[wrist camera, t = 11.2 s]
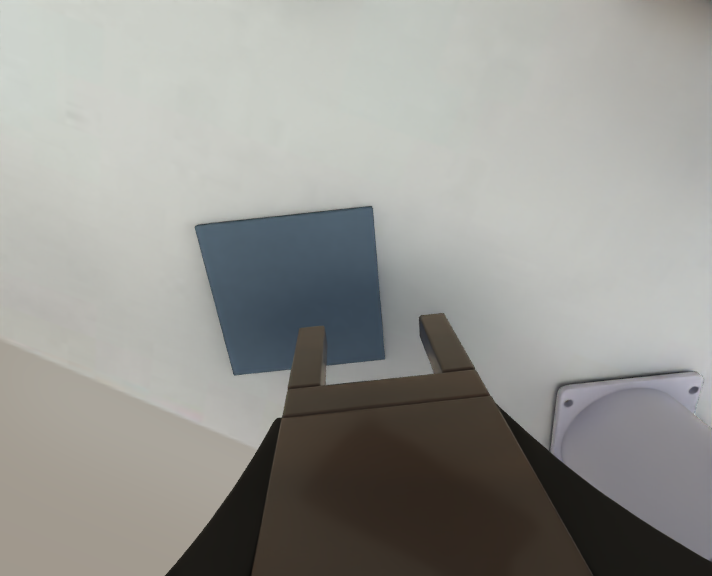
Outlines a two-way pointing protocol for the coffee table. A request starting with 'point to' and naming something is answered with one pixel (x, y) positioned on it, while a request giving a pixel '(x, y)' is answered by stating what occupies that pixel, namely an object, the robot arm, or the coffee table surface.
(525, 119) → the coffee table surface
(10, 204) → the coffee table surface
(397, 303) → the coffee table surface
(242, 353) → the mat
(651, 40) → the coffee table surface
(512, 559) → the chair
